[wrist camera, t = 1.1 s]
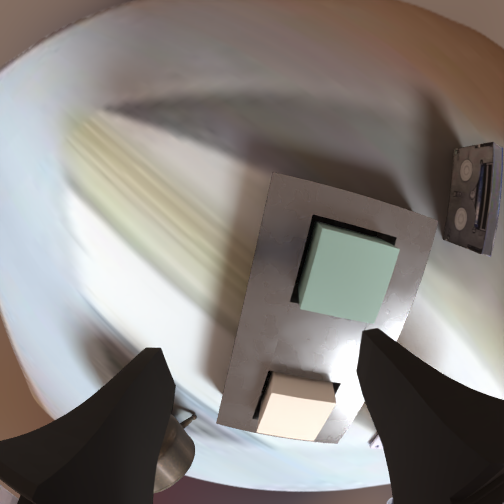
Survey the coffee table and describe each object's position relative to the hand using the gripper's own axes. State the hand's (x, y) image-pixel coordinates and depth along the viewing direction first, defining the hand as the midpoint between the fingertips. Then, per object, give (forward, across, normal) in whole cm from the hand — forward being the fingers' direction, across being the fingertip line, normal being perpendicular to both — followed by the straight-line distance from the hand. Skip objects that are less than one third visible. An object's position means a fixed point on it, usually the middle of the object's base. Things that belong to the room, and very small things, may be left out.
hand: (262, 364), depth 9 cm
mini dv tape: (+12, -18, -3) cm, 22 cm away
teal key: (+11, -6, +1) cm, 12 cm away
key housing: (+12, -4, +7) cm, 15 cm away
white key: (+10, -2, +12) cm, 16 cm away
